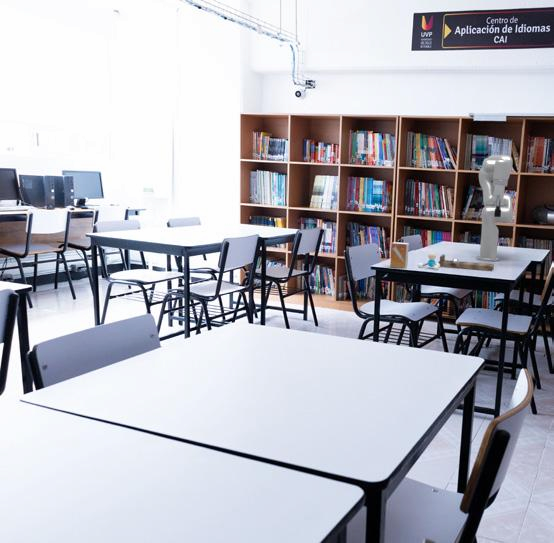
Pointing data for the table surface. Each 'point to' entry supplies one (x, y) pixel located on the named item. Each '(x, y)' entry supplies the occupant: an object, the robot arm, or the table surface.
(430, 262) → the molecule model
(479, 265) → the deck
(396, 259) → the small box
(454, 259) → the ball
